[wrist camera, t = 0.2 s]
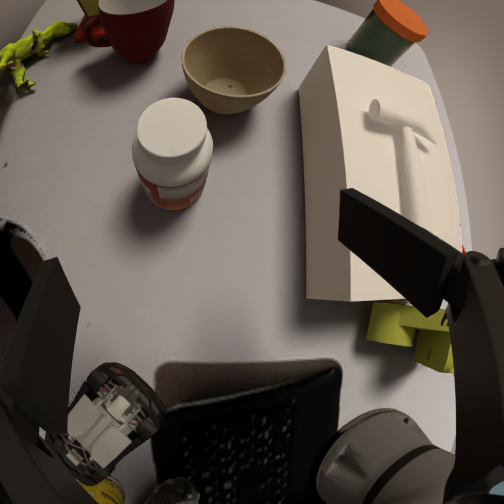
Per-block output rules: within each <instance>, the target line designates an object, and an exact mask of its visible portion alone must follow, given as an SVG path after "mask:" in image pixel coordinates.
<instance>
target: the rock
mask: <svg viewBox="0 0 504 504" xmlns="http://www.w3.org/2000/svg"><path fill="white" fill-rule="evenodd" d="M199 497H200V494H199V492H197V491H196V489H195V488H194V486H193V485H192V483H191V482H190V481H188V480H187V479H185V478H183V477H178V478H176V479H171V478H170V479H168V480H167V481H165V482H164V483H162V484H160V485H157V486H155V487H154V488H153V489H152V492H151V495H150V496H149V498H148V499H147V501H146V502H144V504H198V500H199Z"/></svg>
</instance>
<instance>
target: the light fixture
mask: <svg viewBox="0 0 504 504" xmlns="http://www.w3.org/2000/svg"><path fill="white" fill-rule="evenodd" d="M77 1H78V3H79V5H80V7H81V8H82V10H83V12H84V14H85V15H84V17H83V19H82V21H81V23H80V25H79V27H78V29H77V31H76V33H75V35H74V38H73V41H74V42H79V41H84V37H83V28H84V26H85V24H86V23H87V21H88V20H89V19H90V18H92V17H94V16H96V15H99V10H98V1H99V0H77ZM91 33H92V35H93V36H94V37H96V38H100V37H106V36H107V35H106V33H105V31H104V29H103V27H102V25H101V24H98V25H95V26H93V27H92V28H91Z"/></svg>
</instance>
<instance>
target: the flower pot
mask: <svg viewBox="0 0 504 504" xmlns="http://www.w3.org/2000/svg"><path fill="white" fill-rule="evenodd" d="M182 67H183V71H184V75H185V78H186V81H187V83H188V85H189V87H190V89H191V91H192V93H193V94H194V96H195V97H196V98H197V99H198V100H199V101H200V103H201V104H203V105H204V106H205V107H206V108H208V109H209V110H211V111H213V112H215V113H219V114H235V113H239V112H243V111H245V110H248V109H250V108H252V107H254V106H255V105H257V104H259V103H260V102H261V101H263V100H264V99H265V98H267V97H268V96H269V95H270V94H271V93H272V92H273V91H274V90H275V89H276V88H277V86H278V85H279V84H280V83H281V81H282V80H283V78H284V76H285V72H286V62H285V58H284V56H283V54H282V52H281V51H280V49H279V48H278V47H277V46H276V44H274V43H273V42H272V41H271V40H270V39H268V38H267V37H265V36H264V35H262V34H260V33H258V32H255V31H253V30H250V29H246V28H241V27H233V26H223V27H215V28H211V29H208V30H205V31H202V32H200V33H198V34H197V35H195V36H194V37H193V38H191V39H190V40H189V41H188V43H187V44H186V46H185V47H184V49H183V53H182ZM228 86H230V87H228Z"/></svg>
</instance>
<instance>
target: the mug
mask: <svg viewBox="0 0 504 504" xmlns="http://www.w3.org/2000/svg"><path fill="white" fill-rule="evenodd" d="M173 9H174V0H99V1H98V10H99V15H96V16H94V17H92V18H90V19H89V20H88V21H87V23H86V24H85V26H84V28H83V37H84V40H85V41H86V43H88V44H89V45H91V46H94V47H109V46H112V47H113V49H114V50H115V51H116V53H117V54H119V55H120V56H121V57H123V58H124V59H126V60H127V61H129V62H131V63H143V62H146V61H148V60H150V59H151V58H152V57H154V55H155V54H156V53H157V52H158V50H159V49H160V48H161V46H162V45H163V43H164V41H165V39H166V35H167V32H168V28H169V24H170V21H171V17H172V14H173ZM98 24H101V25H102V27H103V29H104V31H105V33H106V35H107V37H108V39H99V38H96V37H94V36H93V35H92V33H91V28H92V27H93V26H95V25H98Z"/></svg>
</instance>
